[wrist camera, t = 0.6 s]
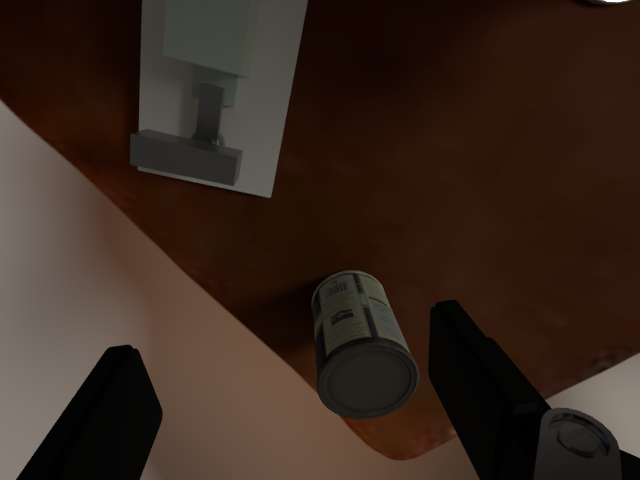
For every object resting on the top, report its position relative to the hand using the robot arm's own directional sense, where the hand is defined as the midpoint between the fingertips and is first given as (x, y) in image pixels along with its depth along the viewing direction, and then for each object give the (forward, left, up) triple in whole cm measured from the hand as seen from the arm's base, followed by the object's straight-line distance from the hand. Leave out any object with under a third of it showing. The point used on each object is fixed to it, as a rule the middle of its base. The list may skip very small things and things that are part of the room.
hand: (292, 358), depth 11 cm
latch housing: (-6, -9, -30) cm, 32 cm away
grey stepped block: (-9, -9, -28) cm, 31 cm away
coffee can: (+17, +11, -31) cm, 37 cm away
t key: (-2, -9, -28) cm, 30 cm away
